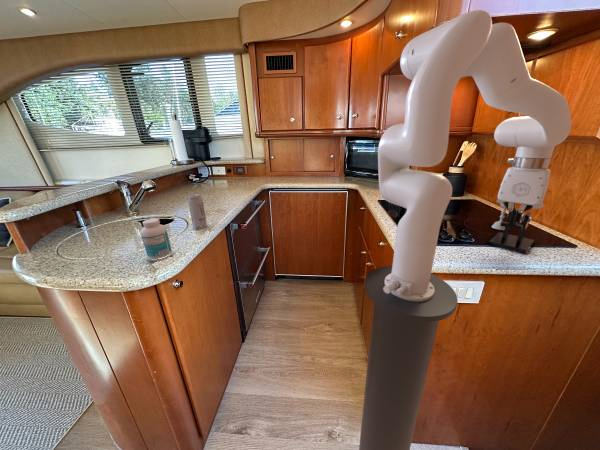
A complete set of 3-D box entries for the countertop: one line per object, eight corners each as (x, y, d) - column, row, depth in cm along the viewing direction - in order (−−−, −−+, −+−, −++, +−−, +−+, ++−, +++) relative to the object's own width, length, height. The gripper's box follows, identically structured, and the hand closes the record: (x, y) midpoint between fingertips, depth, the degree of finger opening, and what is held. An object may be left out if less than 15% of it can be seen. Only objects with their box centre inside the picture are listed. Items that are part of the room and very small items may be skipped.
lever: (519, 231, 73) (522, 224, 72) (499, 227, 77) (501, 220, 76) (528, 221, 80) (530, 214, 79) (509, 218, 84) (511, 211, 83)
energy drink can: (203, 229, 106) (197, 196, 101) (190, 229, 107) (184, 196, 101) (209, 224, 112) (204, 193, 106) (197, 224, 112) (191, 193, 107)
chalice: (485, 224, 102) (496, 182, 96) (502, 224, 101) (515, 183, 95) (495, 230, 96) (507, 186, 89) (514, 231, 94) (528, 186, 88)
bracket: (525, 254, 77) (537, 220, 73) (488, 244, 84) (497, 213, 80) (533, 243, 84) (544, 212, 80) (498, 235, 91) (506, 206, 87)
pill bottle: (157, 251, 86) (148, 216, 81) (177, 252, 85) (168, 216, 81) (143, 262, 79) (131, 224, 74) (163, 262, 78) (153, 224, 74)
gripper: (494, 163, 71) (480, 220, 78) (566, 167, 60) (542, 233, 67) (501, 161, 76) (487, 215, 82) (569, 164, 65) (547, 226, 71)
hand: (512, 223), depth 75 cm, fingers closed
